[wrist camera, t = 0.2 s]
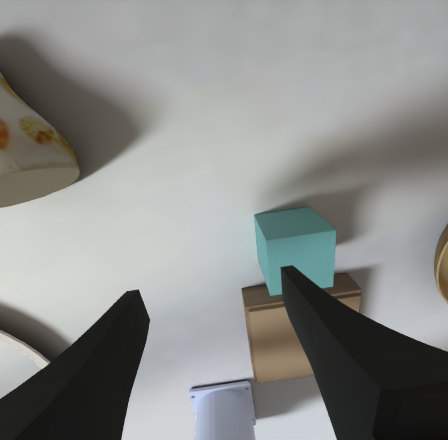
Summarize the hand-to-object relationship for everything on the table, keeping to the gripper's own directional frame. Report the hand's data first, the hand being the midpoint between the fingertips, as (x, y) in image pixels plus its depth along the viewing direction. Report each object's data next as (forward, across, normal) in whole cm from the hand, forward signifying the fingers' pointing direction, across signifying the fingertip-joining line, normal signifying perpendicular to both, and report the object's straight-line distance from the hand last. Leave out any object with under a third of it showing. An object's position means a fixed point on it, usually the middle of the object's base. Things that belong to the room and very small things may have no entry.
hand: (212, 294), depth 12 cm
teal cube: (+10, -6, +3) cm, 12 cm away
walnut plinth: (+10, -7, +14) cm, 18 cm away
